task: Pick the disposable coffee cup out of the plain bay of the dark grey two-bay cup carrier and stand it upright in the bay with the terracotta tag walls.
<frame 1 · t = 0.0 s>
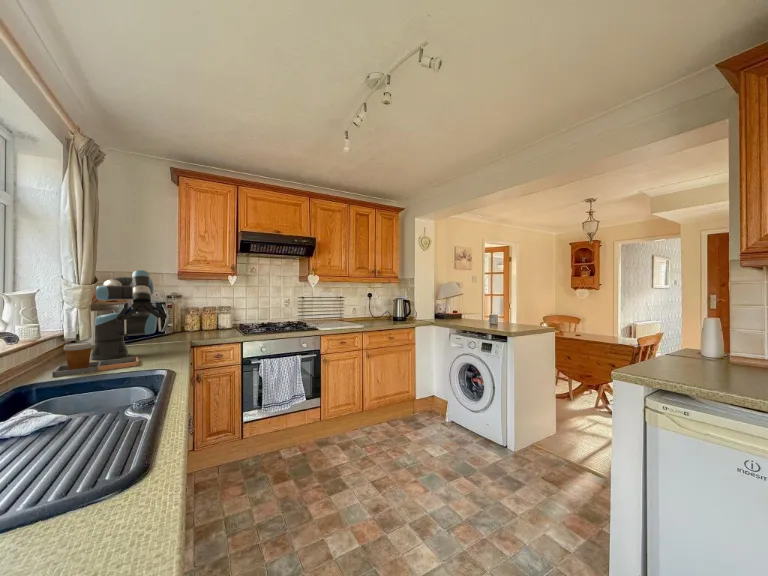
hand: (143, 331, 157), 15 cm above the counter, tool tilted 35°, fingers open, 13 cm apart
cup carrier: (99, 368, 147), on the counter
disposable coffee cup: (78, 371, 143), resting in cup carrier
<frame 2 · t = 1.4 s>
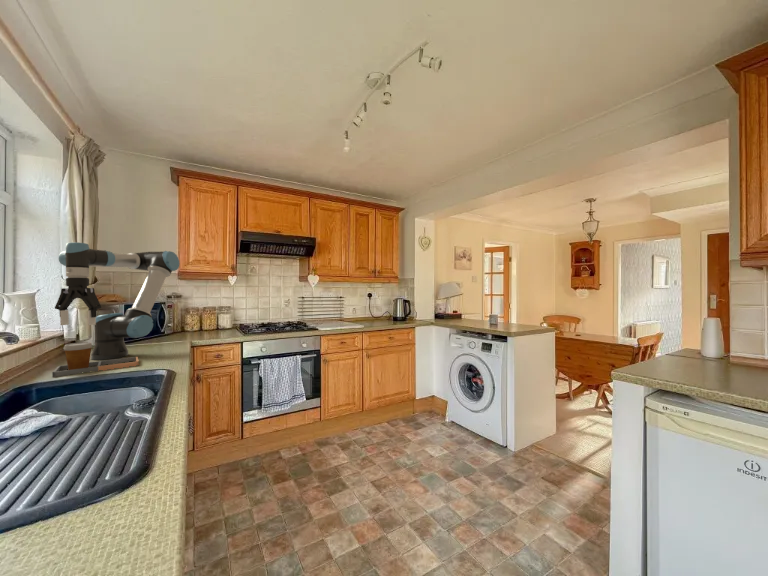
hand: (78, 324, 143), 20 cm above the counter, tool pointing down, fingers open, 13 cm apart
nothing on the counter moved.
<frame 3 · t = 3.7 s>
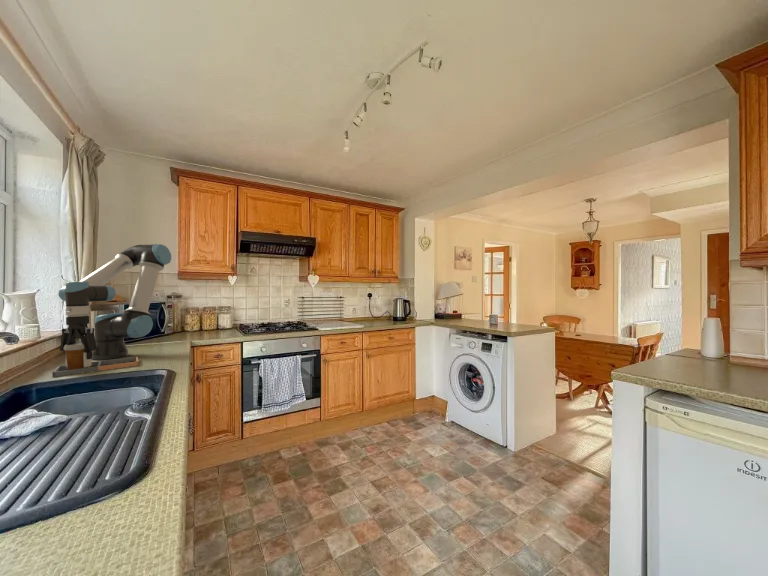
hand: (78, 366, 143), 2 cm above the counter, tool pointing down, fingers closed on disposable coffee cup, 8 cm apart
disposable coffee cup: (78, 371, 143), resting in cup carrier, touching gripper
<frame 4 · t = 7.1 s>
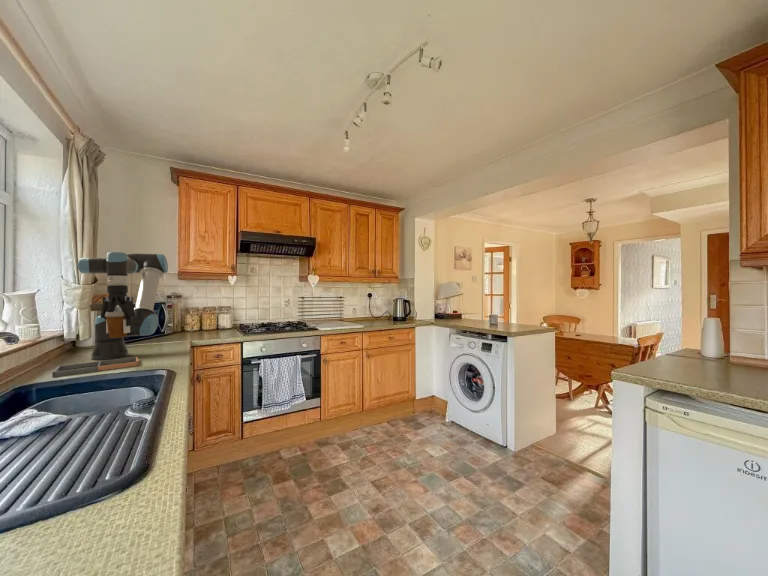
hand: (118, 332, 151), 16 cm above the counter, tool pointing down, fingers closed on disposable coffee cup, 8 cm apart
disposable coffee cup: (118, 337, 151), point 13 cm above the counter, touching gripper
when the fingers open (2 cm above the counter, at t = 10.5 s): disposable coffee cup stays where it is, resting in cup carrier.
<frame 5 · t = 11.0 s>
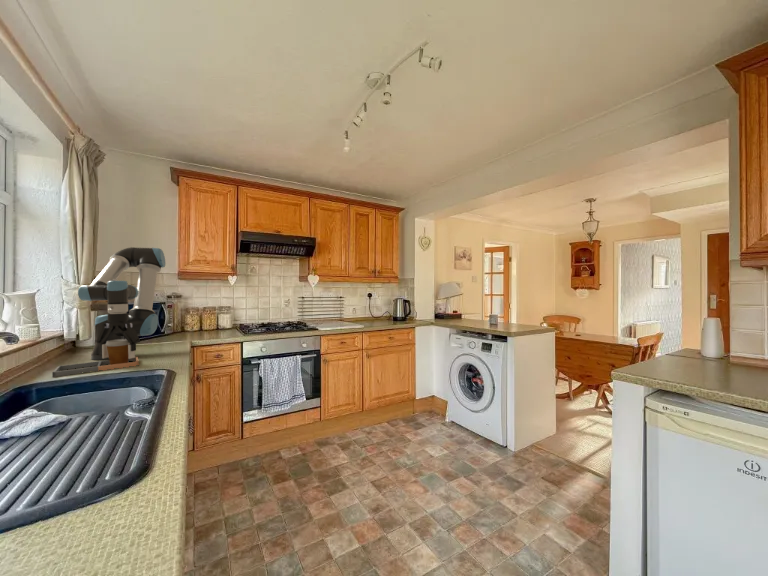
hand: (118, 357, 151), 4 cm above the counter, tool pointing down, fingers open, 13 cm apart
disposable coffee cup: (119, 366, 151), resting in cup carrier
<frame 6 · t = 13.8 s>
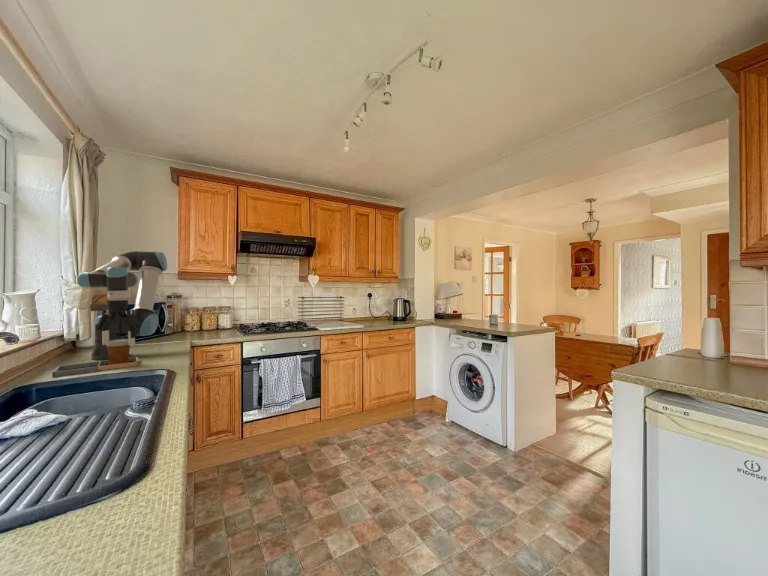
hand: (118, 344, 152), 10 cm above the counter, tool pointing down, fingers open, 13 cm apart
nothing on the counter moved.
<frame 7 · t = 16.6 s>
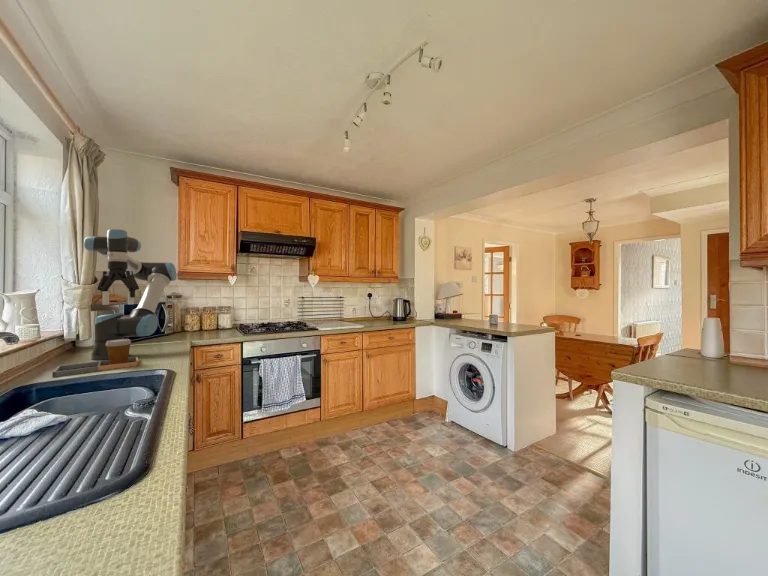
hand: (118, 304, 157), 29 cm above the counter, tool pointing down, fingers open, 13 cm apart
nothing on the counter moved.
at the end: disposable coffee cup 0.1 cm from the target spot on the cup carrier, point 0.0 cm above the cup carrier's base; disposable coffee cup tilted 0°; the gripper is holding nothing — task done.
